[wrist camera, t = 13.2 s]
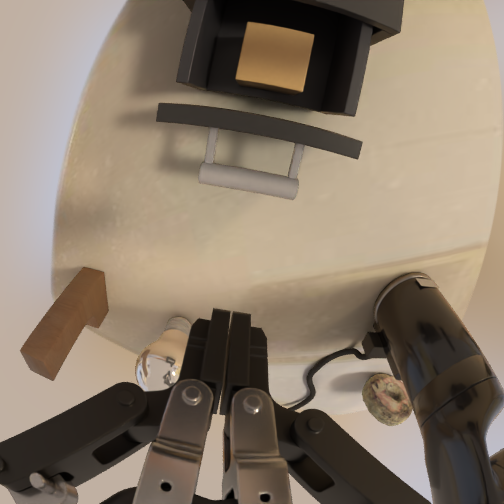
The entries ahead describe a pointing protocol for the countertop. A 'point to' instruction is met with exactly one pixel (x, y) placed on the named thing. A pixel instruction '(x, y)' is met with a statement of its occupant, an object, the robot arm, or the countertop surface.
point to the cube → (274, 58)
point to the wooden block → (66, 322)
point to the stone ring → (387, 399)
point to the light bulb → (163, 357)
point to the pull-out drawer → (313, 96)
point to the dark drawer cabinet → (362, 13)
